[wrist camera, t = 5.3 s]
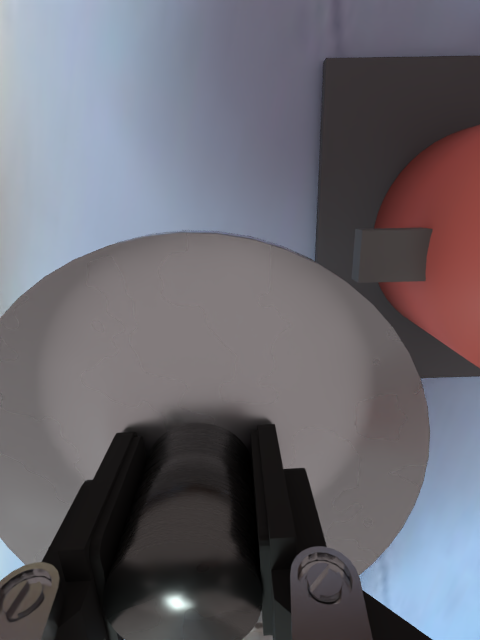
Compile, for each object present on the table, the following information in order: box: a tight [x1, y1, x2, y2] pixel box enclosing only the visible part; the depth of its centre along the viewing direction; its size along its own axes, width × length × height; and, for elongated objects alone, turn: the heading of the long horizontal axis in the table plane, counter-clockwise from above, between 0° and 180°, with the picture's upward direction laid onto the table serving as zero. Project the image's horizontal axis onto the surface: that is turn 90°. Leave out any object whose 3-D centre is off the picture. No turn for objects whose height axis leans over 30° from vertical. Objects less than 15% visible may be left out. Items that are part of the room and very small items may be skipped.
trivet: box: [315, 56, 480, 378], centre depth 24 cm, size 20×20×1 cm
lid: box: [0, 230, 430, 640], centre depth 10 cm, size 14×14×5 cm
